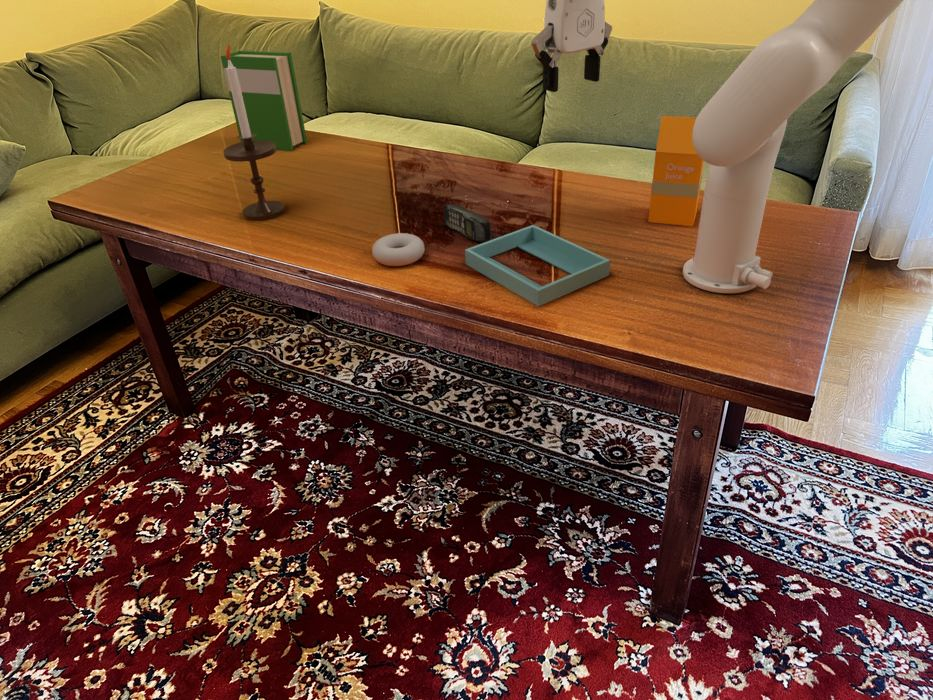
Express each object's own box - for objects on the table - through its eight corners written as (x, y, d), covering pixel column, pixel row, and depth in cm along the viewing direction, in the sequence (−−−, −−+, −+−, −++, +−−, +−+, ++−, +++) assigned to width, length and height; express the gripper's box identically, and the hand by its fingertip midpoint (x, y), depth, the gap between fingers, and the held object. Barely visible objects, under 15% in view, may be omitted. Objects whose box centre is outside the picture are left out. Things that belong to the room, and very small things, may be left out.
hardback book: (307, 142, 193) (290, 52, 180) (291, 150, 188) (273, 58, 174) (258, 137, 200) (238, 50, 186) (241, 145, 194) (220, 56, 181)
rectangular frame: (609, 275, 119) (610, 260, 117) (538, 306, 111) (538, 290, 110) (533, 238, 133) (533, 224, 131) (465, 264, 125) (464, 249, 124)
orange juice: (653, 207, 142) (664, 110, 131) (697, 211, 140) (712, 112, 128) (647, 222, 137) (658, 121, 125) (693, 226, 134) (708, 124, 122)
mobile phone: (440, 204, 137) (486, 224, 127) (451, 200, 139) (499, 219, 129) (442, 227, 140) (488, 248, 130) (453, 223, 141) (500, 243, 131)
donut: (369, 251, 132) (378, 273, 124) (366, 235, 130) (375, 255, 122) (419, 243, 134) (431, 263, 126) (417, 227, 132) (429, 246, 124)
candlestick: (298, 206, 153) (265, 38, 134) (268, 224, 145) (227, 49, 126) (260, 200, 157) (222, 37, 138) (229, 218, 149) (183, 47, 130)
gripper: (550, -20, 101) (548, 98, 111) (630, -32, 109) (622, 79, 119) (518, -23, 106) (519, 91, 116) (597, -34, 114) (591, 73, 124)
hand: (571, 85), depth 117 cm, fingers open, 9 cm apart
